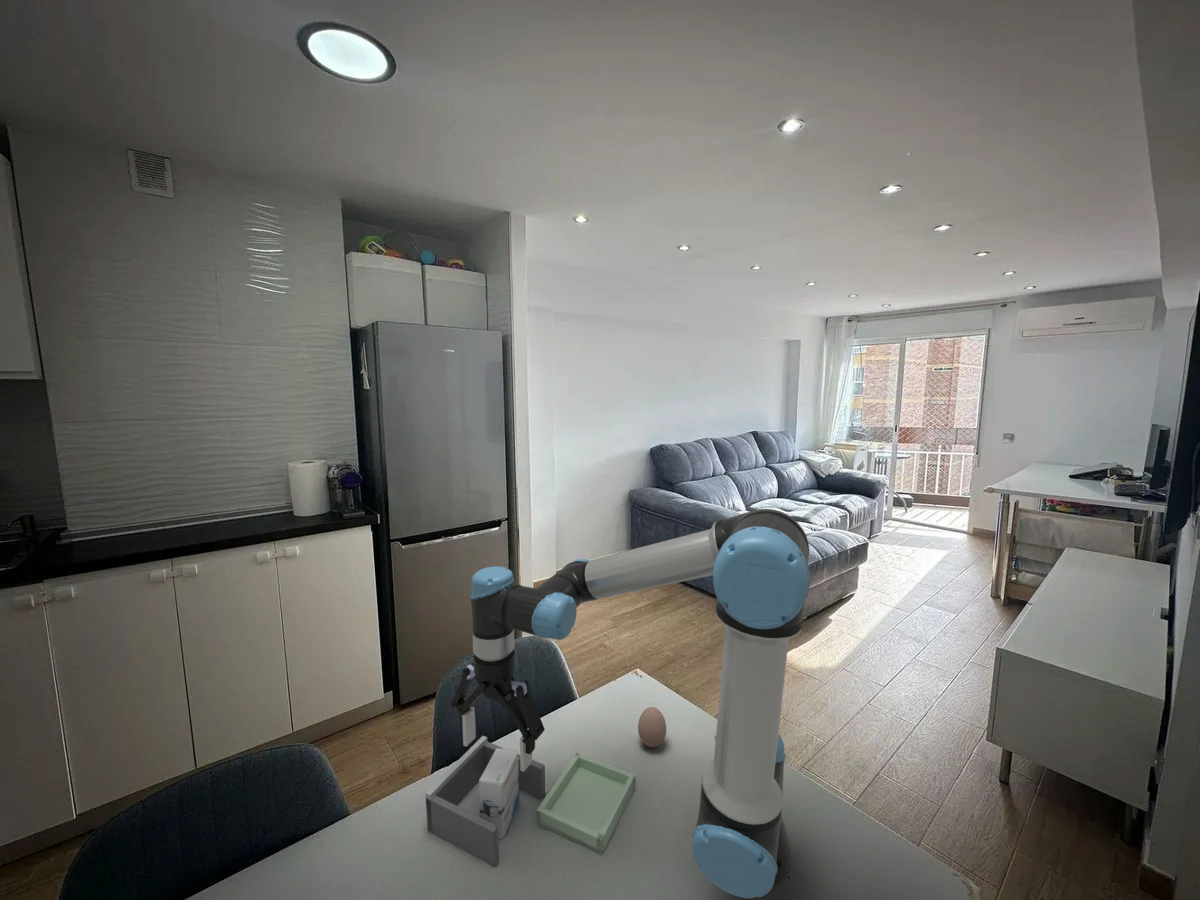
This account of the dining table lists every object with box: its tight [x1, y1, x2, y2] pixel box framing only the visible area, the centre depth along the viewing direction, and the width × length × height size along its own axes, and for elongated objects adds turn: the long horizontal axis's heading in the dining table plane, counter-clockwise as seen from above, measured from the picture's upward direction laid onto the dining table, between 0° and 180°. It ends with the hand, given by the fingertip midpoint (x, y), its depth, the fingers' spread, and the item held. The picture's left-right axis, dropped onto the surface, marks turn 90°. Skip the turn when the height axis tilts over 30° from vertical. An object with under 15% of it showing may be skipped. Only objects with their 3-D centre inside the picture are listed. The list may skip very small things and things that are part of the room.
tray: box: [535, 752, 636, 855], centre depth 96 cm, size 14×16×3 cm
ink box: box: [478, 747, 520, 841], centre depth 93 cm, size 9×5×12 cm, turn 168°
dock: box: [425, 735, 546, 868], centre depth 94 cm, size 16×16×8 cm
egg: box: [637, 706, 667, 748], centre depth 111 cm, size 7×7×9 cm
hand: (497, 753), depth 92 cm, fingers open, 13 cm apart
